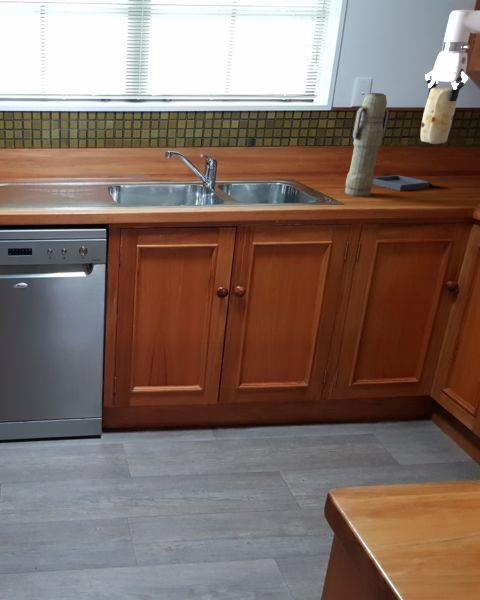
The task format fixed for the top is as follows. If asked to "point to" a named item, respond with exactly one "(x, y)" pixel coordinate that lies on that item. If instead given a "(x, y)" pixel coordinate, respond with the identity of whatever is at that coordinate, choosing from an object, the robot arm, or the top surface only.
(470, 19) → the robot arm
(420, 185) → the tray
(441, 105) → the food model
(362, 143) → the thermos
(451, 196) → the top surface
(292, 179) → the top surface
